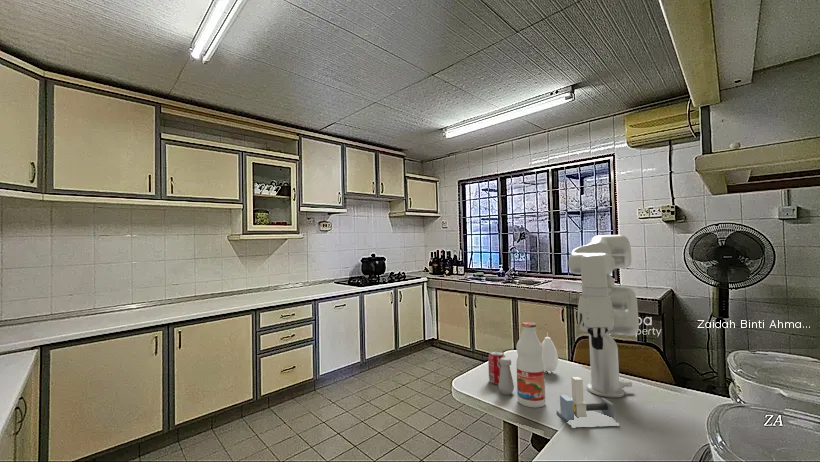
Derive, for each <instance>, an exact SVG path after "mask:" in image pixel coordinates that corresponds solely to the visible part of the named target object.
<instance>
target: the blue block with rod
mask: <svg viewBox="0 0 820 462" xmlns="http://www.w3.org/2000/svg"><path fill="white" fill-rule="evenodd" d="M570 398H571V397H569V396H568V395H567V394H559V403H560V406H559V408H560V409H556V414H557V415H558V416H559V417H560V418H561V419H562V420H563V421H564V422H565V423H566V424H567V422H568V421H569V420H574V414H573V413H576V405H575V404H574V403H573V400H572V399H570ZM614 407H615V404H614V403H612V402H611V401H609V400H608V399H607V398H605V397H601V398H600V403H599V402H597V403H595V402H594V403H586V411H595V412H598V413H601V414H604V415H607V416H609V417H612V418H614V419H615V408H614Z"/></svg>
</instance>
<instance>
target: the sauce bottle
mask: <svg viewBox="0 0 820 462" xmlns="http://www.w3.org/2000/svg"><path fill="white" fill-rule="evenodd" d="M541 344H542V346H543V353H542V359H543V362H544V372H545V371H550V372H552V371H553V372H555V371H556V370H557V367H558V365H559V364H558V363H559V357H558V356H559V355H558V351H557V349H556V346H555V344H554V342H553V341H552V338H551V337H549V332H548V331H547V332H546V337H544V340H543V341H542V342H541Z"/></svg>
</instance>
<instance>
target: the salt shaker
mask: <svg viewBox="0 0 820 462" xmlns="http://www.w3.org/2000/svg"><path fill="white" fill-rule="evenodd" d="M500 364H501V371H500V378H499V385H498V384H497V386H498V389H499V392H500V393H501V394H502V395H504V396H510V395H513V392H514V389H515V385H514V380H513V376H512V372H511V366H512V359H510V358H509V357H506V356H505V357H504V358H501V359H500Z"/></svg>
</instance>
